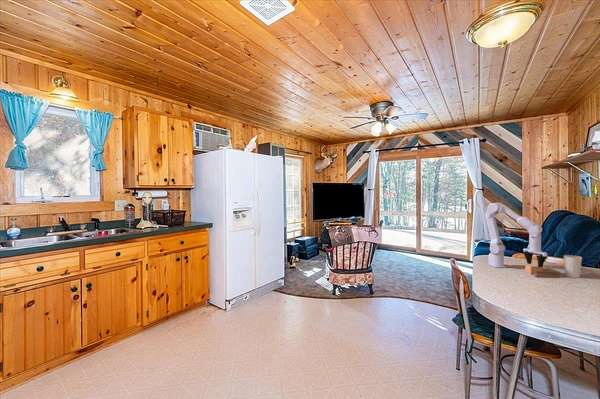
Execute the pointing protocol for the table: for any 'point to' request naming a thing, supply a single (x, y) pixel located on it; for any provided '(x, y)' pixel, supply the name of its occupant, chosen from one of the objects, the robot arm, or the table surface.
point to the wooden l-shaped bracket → (547, 273)
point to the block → (532, 269)
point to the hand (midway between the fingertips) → (534, 265)
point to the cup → (572, 266)
